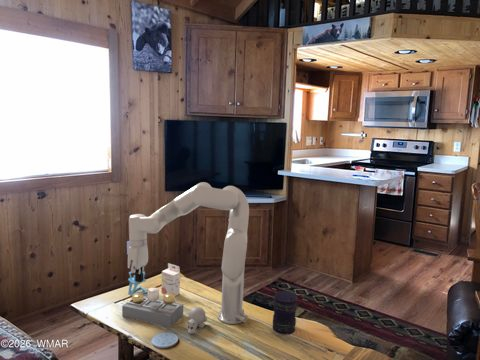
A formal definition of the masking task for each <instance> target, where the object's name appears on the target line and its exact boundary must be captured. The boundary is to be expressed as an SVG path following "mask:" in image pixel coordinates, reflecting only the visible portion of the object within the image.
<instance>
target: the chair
mask: <svg viewBox="0 0 480 360" xmlns="http://www.w3.org/2000/svg"><path fill="white" fill-rule="evenodd" d="M142 273H143V281H142V282H136V281H135V274H134V275H133V276H132V274H133V273H132V272H131V271H129V272H128V275H129V278H128V279H127V280H128V282H129V286H128V293H127V294H128V295H129V294H130V296H131V297H132V295H133V294H135V293H142V294H143V295H144V294H148V289H147V290H146V289H145V288H144V287H142V286H141V285H140V284H142V283H144V282H145V283H146V281H147V279H146V278H145V275H146V271H144V272H142ZM133 285H134V286H133ZM139 285H140V286H139ZM132 287H133V288H132ZM138 290H142V291H138Z"/></svg>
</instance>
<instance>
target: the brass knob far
mask: <svg viewBox="0 0 480 360" xmlns="http://www.w3.org/2000/svg"><path fill="white" fill-rule="evenodd" d="M134 293H135V292H134ZM144 296H145V295H144V294H142V293H135V294H133V295H132V296H131V299H132V303H136V304H141V303H142V302H143V301H144Z"/></svg>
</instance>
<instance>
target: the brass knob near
mask: <svg viewBox="0 0 480 360" xmlns="http://www.w3.org/2000/svg"><path fill="white" fill-rule="evenodd" d="M162 298H163V299H162V300H163V302H164V304H173V303H175V302H176V296H175V294H174V293H166V294H164V293H163V297H162Z"/></svg>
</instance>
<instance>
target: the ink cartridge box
mask: <svg viewBox="0 0 480 360" xmlns="http://www.w3.org/2000/svg"><path fill="white" fill-rule="evenodd" d="M180 287H181V268H180V266H179V265H176V264H172V263H169V262H168V263H167V268H166V269H164V270H162V271H161V293H162V294H163V295H164V294H166V293H174V294H175V297H176V296H178V295H180V293H181V292H180V290H181V289H180Z"/></svg>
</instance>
